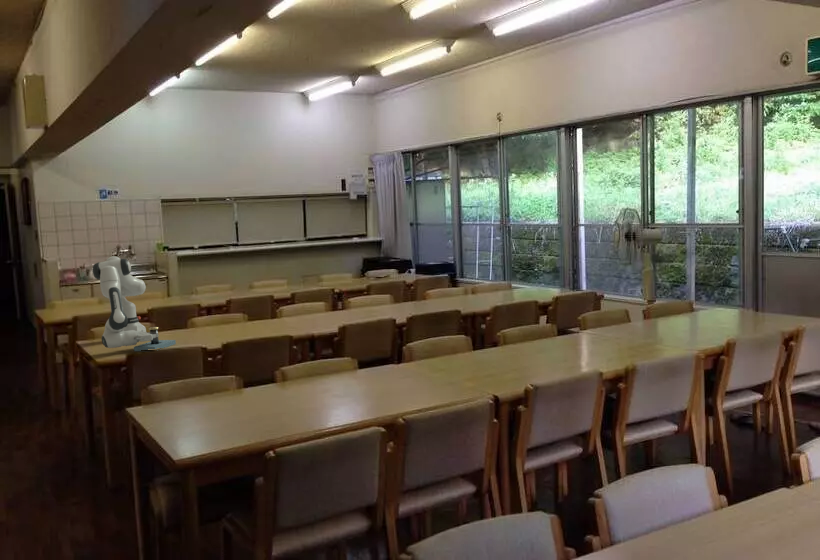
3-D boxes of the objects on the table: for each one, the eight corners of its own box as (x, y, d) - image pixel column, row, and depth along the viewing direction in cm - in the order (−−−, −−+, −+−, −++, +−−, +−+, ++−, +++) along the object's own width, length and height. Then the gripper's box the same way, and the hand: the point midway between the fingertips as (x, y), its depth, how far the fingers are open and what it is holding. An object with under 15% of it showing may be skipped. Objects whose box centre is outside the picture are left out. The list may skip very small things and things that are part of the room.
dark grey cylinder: (151, 347, 436) (149, 327, 435) (161, 346, 436) (159, 326, 435) (149, 348, 430) (147, 328, 429) (159, 348, 431) (157, 328, 430)
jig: (155, 344, 445) (154, 340, 445) (175, 343, 442) (175, 339, 442) (133, 351, 424) (133, 346, 424) (155, 350, 421) (154, 346, 421)
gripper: (136, 334, 416) (160, 330, 424) (126, 330, 433) (149, 327, 441) (137, 345, 417) (161, 341, 425) (127, 341, 433) (150, 337, 441)
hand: (155, 334), depth 433 cm, fingers open, 8 cm apart
